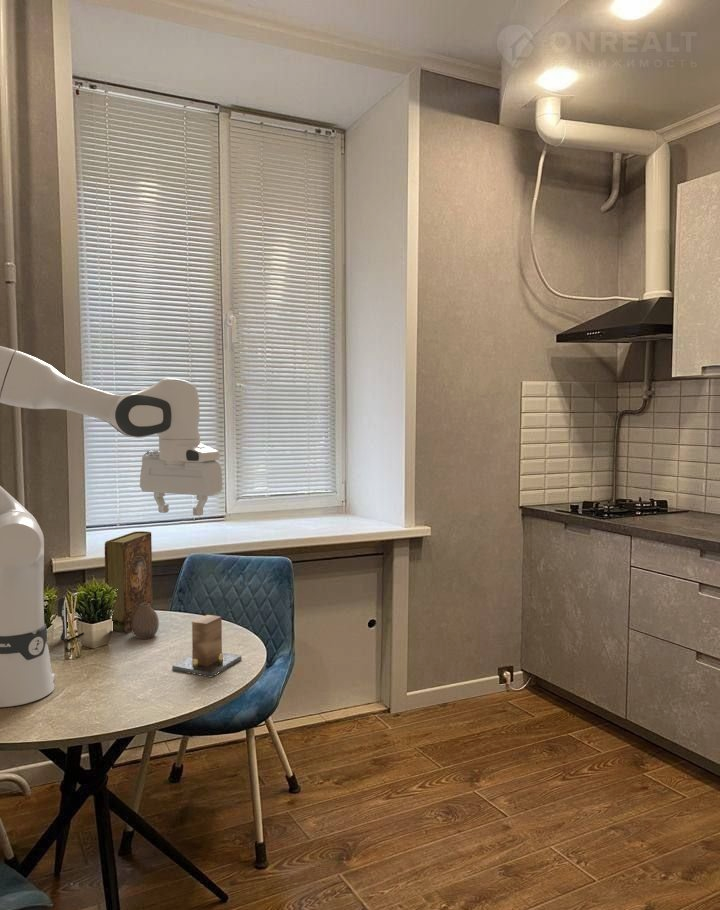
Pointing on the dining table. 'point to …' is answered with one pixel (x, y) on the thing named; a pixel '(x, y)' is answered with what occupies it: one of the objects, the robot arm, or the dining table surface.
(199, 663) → the board block
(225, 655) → the pin plate
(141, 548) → the book
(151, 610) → the vase
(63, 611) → the battery charger
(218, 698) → the dining table surface
